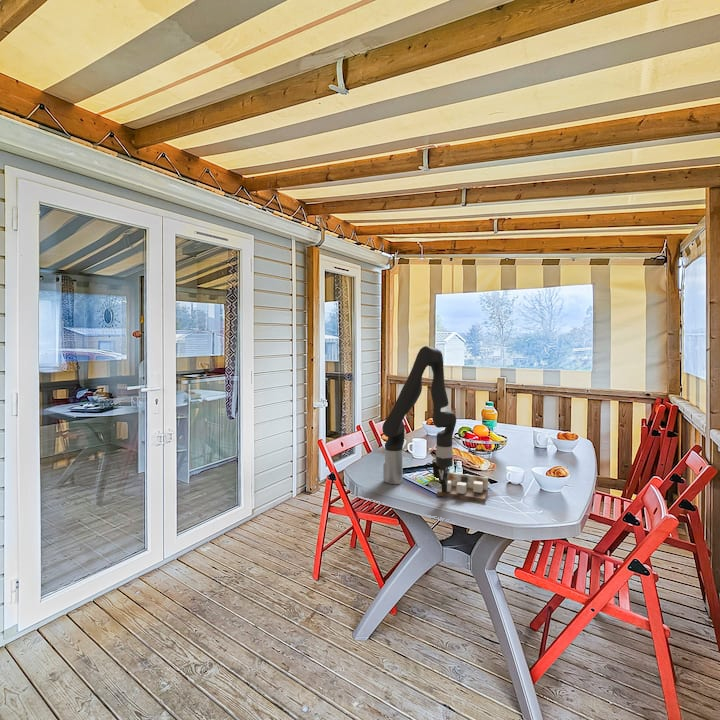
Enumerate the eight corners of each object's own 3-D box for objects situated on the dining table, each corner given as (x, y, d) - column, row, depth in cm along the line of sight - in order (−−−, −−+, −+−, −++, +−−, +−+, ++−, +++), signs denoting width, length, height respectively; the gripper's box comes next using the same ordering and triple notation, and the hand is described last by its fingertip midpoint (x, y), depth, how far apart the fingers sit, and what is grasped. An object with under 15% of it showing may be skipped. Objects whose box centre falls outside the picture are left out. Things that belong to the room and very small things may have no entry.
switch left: (441, 490, 197) (441, 482, 197) (443, 487, 201) (443, 479, 200) (450, 491, 195) (450, 483, 195) (451, 488, 199) (451, 480, 199)
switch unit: (436, 495, 197) (437, 479, 196) (442, 487, 208) (442, 471, 207) (484, 503, 188) (485, 485, 188) (487, 493, 199) (488, 477, 199)
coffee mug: (449, 477, 222) (449, 459, 221) (446, 482, 214) (446, 463, 213) (428, 474, 226) (428, 456, 226) (424, 479, 218) (424, 461, 218)
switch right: (473, 491, 196) (473, 483, 195) (474, 488, 199) (474, 480, 199) (481, 492, 194) (482, 484, 194) (482, 489, 198) (483, 481, 197)
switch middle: (456, 492, 194) (456, 484, 194) (457, 489, 198) (458, 481, 198) (465, 494, 193) (465, 485, 192) (466, 491, 196) (466, 482, 196)
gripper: (439, 450, 198) (439, 486, 199) (433, 458, 185) (433, 496, 186) (455, 452, 195) (455, 488, 196) (449, 459, 183) (449, 498, 184)
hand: (444, 491), depth 191 cm, fingers closed
